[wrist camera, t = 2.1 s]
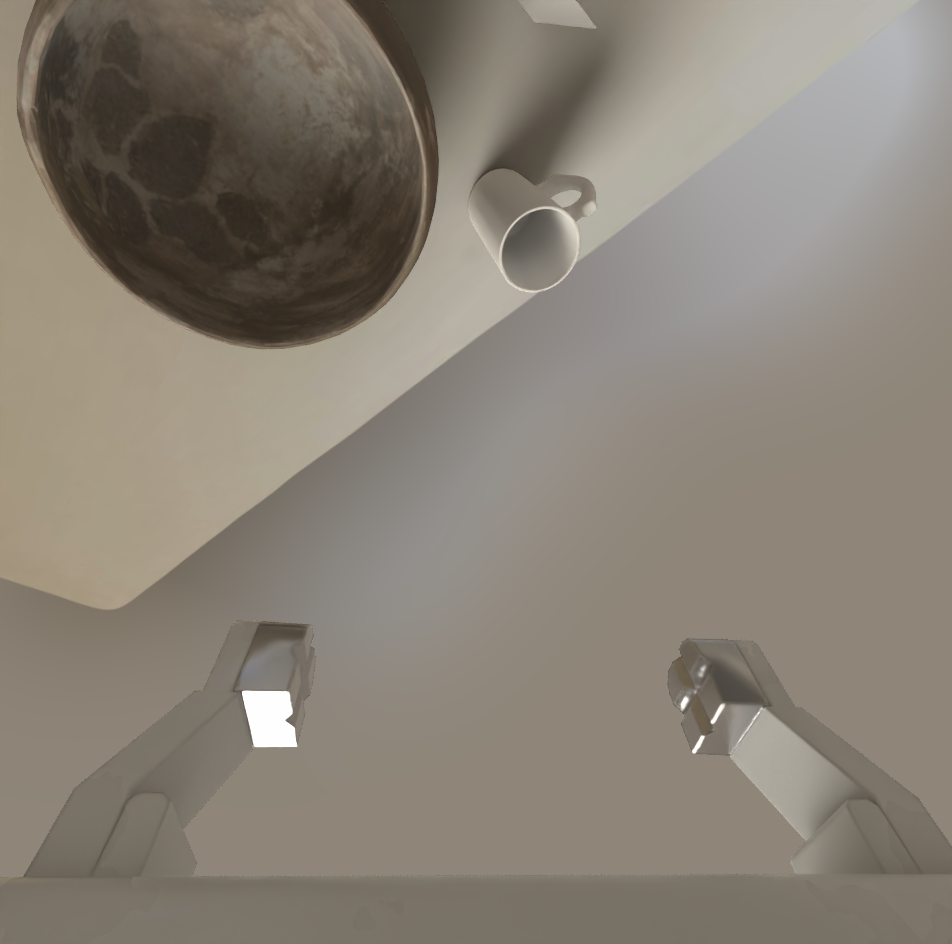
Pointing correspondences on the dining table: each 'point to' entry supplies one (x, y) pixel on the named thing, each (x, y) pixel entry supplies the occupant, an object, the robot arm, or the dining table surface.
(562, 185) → the mug
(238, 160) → the bowl
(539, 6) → the toilet tissue
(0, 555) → the dining table surface
